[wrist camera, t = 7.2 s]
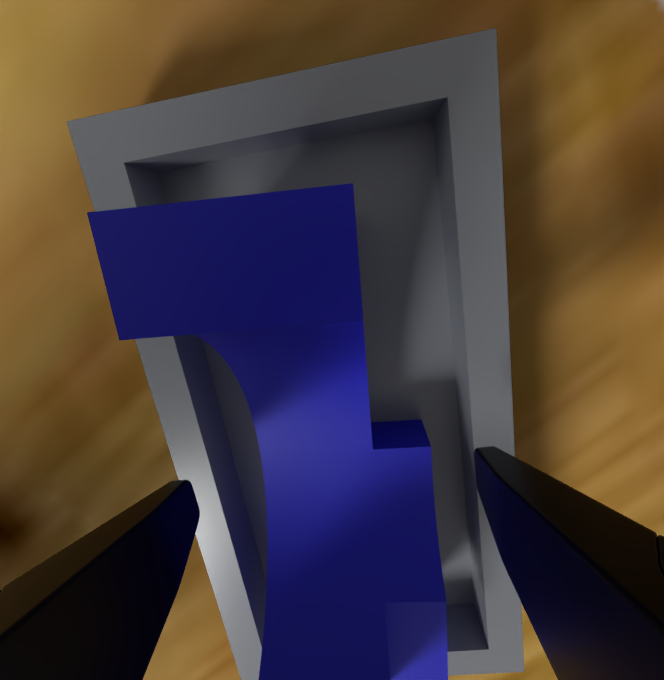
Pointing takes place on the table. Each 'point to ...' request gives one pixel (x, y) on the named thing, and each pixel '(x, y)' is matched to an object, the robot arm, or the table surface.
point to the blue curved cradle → (300, 420)
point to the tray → (376, 289)
